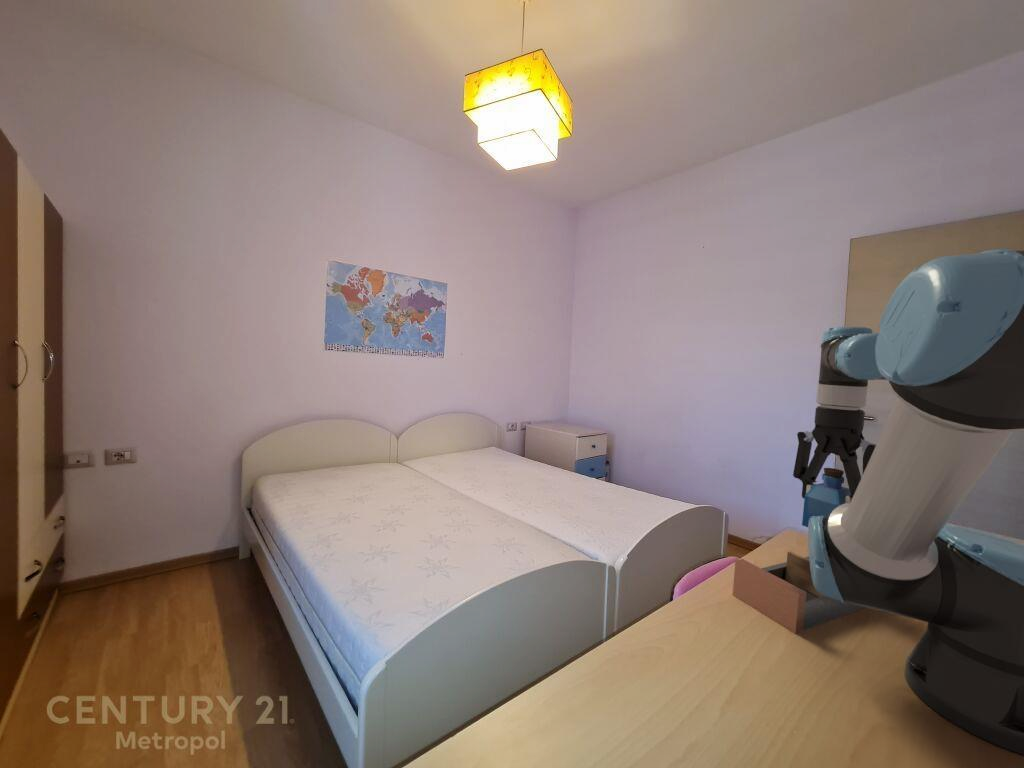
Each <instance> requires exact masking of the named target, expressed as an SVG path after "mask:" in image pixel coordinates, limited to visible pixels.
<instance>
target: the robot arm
mask: <svg viewBox="0 0 1024 768" xmlns="http://www.w3.org/2000/svg"><path fill="white" fill-rule="evenodd" d="M881 315H882V316H881V318H880V322H879V326H878V328H879V330H880V331H879V333H878V332H877V333H876V332H873V330H872V329H871V328H869V327H866V326H835V327H828V328H827V329H825V330H824V331H823V336H822V340H821V341H822V342H821V343H820V348H821V349H820V350H821V351H820V364H819V373H818V376H819V377H818V384H817V392H816V393H817V394H816V404H818V406H816V408H815V412H814V413H815V414H814V428H813V429H812V431H798V432H797V434H796V435H797V440H798V445H797V452H796V455H795V462H794V468H793V473H792V476H793V477H794V478H795V479H798V480H799V481H801V483H802V488H801V497H802V499H805V495H806V494H807V493H808V491H809V490H810V489H811V488H812V487H813V486H814V485H815V484H816V483H817V482H818V480H817V479H818V476H819V474H820V472H821V470H822V468H823V466H824V465H825V463H826V460H827V458H829V456H830V455H831V454H833V455H835V456H839V460H840V462H841V463H842V467H843V470H844V473H845V478H846V480H847V481H846V482H847V485H848V486H847V487H848V488H849V490H850V493H851V495H849V496H846V498H845V504H842V505H840V506H838V507H837V508H835V509H834V510H833V511H832V513H831V514H830V516H829V518H826V517H825V516H812V517H811V518H810V519H809V523H808V527H807V538H808V539H807V541H808V546H807V547H808V556H809V560H810V570H811V577H812V582H813V585H814V587H815V589H816V590H817V592H819V593H820V594H821V595H823V596H826V597H829V598H832V599H836V600H839V601H841V602H843V603H849V604H854V605H858V606H862V607H866V608H867V609H872V610H876V611H880V612H884V613H888V614H893V615H898V616H901V617H905V618H910V619H915V620H919V621H923V622H925V623H927V628H926V631H925V632H924V633H923V635H922V636H921V637H920V639H919V641H918V642H917V643H916V644H915V646H914V647H913V649H912V650H911V651H910V653H909V654H908V656H907V658H906V660H905V669H904V679H905V681H906V683H907V685H908V686H909V688H910V689H911V690H912V692H913V693H915V695H916V696H917V697H918V698H919V699H920V700H921V701H922V702H924V703H925V704H926V705H927V706H929V707H930V708H931V709H932V710H933V711H935V712H936V713H938V714H939V715H941V716H942V717H943V718H945V719H946V720H949V722H951V723H953V724H955V725H956V726H957V727H960V728H962V729H963V730H965V731H967V732H969V733H971V734H972V735H975V736H976V737H978V738H980V739H983V740H984V741H987V742H989V743H992V744H994V745H996V746H998V747H1001V748H1003V749H1006V750H1010V751H1012V752H1015V753H1017V754H1021V755H1024V545H1022V544H1020V543H1017V542H1014V541H1012V540H1009V539H1006V538H1003V537H999V536H996V535H993V534H990V533H987V532H983V531H979V530H976V529H971V528H967V527H963V526H958V525H946V524H947V523H948V522H949V521H950V519H951V518H952V516H953V515H954V513H955V512H956V511H957V510H958V509H959V507H960V505H961V504H962V503H963V501H964V500H965V499H966V497H967V496H968V494H969V493H970V492H971V490H972V489H973V488H974V487H975V485H976V484H977V482H978V481H979V480H980V478H981V476H982V475H983V474H984V472H985V471H986V470H987V469H988V467H989V465H990V464H991V463H992V461H993V460H994V459H995V458H996V457H997V455H998V453H999V452H1000V451H1001V450H1002V448H1003V447H1004V445H1005V443H1006V442H1007V441H1008V439H1009V438H1010V437H1011V435H1012V434H1013V433H1015V432H1024V250H1015V249H1008V248H1007V249H1003V248H1002V249H1000V248H998V249H989V250H984V251H982V252H978V253H967V254H957V255H956V254H955V255H954V254H953V255H946V256H945V255H944V256H941V257H937V258H934V259H932V260H929V261H927V262H925V263H924V264H922V265H921V266H918V267H916V268H915V269H914V270H912V271H911V272H910V273H909V274H908V275H907V276H905V278H904V279H903V280H902V281H901V282H900V283H899V285H898V286H897V287H896V289H895V290H894V292H892V295H891V297H890V299H889V300H888V303H886V306H885V308H884V311H883V313H882V314H881ZM875 380H881V381H882V380H883V381H887V384H888V386H889V389H890V390H891V392H892V393H893V394H894V396H896V400H895V402H894V405H893V407H892V409H891V411H890V413H889V416H888V418H887V420H886V422H885V425H884V427H883V429H882V431H881V433H880V435H879V438H878V440H877V442H876V443H873V442H870V441H868V440H866V439H865V437H864V434H863V430H864V426H865V416H866V415H865V414H866V412H865V411H864V410H863V409H862V408H865V407H866V406H867V396H868V385H869V384H868V383H869V381H875ZM813 441H815V442H816V444H817V445H816V447H815V448H814V451H813V453H814V454H813V456H812V458H811V460H810V456H811V451H812V445H813V443H812V442H813ZM860 447H861V452H862V453H863V455H862V474H861V472H860V468H859V464H858V455H857V452H856V451H857V450H858V449H859V448H860ZM809 461H810V462H809ZM861 475H862V476H861ZM866 608H865V609H866Z"/></svg>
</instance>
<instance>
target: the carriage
mask: <svg viewBox="0 0 1024 768" xmlns="http://www.w3.org/2000/svg"><path fill="white" fill-rule="evenodd" d="M804 557H805V556H801V555H800V554H797V553H795V552H792V551H787V556H786V562H787V566H786V576H785V580H786V581H788V582H790V583H792V584H794V585H796V586H798V587H800V588H802V589H804V590H806V591H808V592H810V593H812V594H813V595H815V596H817V597H819V598H820V597H823V595H821V594H820V593H819V592H817V590H816V589H815V587H814V585H813V582H812V577H811V570H810V560H808V559H806V558H804Z"/></svg>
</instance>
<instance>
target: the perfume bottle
mask: <svg viewBox="0 0 1024 768" xmlns="http://www.w3.org/2000/svg"><path fill="white" fill-rule="evenodd" d="M823 472H824V473H822V475H821V480H822V481H823V482H822V483H814V484H815V485H814V486H813V487H812V488H811V489H810V490H809V491H808V493H807V494H806V495H805V499H804V498H803V499H804V500H803V511H802V521H801V526H803V527H806V528H808V523H809V519H810V518H811V517H812V516H825V517H826V518H829V516H830V514H831V513H832V511H833V510H834V509H835V508H837V507H838V506H840V505H842V504H845V498H846V496H849V495H851V493H850V490H849V487H848V488H847V487H845V486H842V485H843V484H844V483H845V477H843V476H844V473H845V470H844V471H843V470H842V469H838V468H832V467H824V468H823Z"/></svg>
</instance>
